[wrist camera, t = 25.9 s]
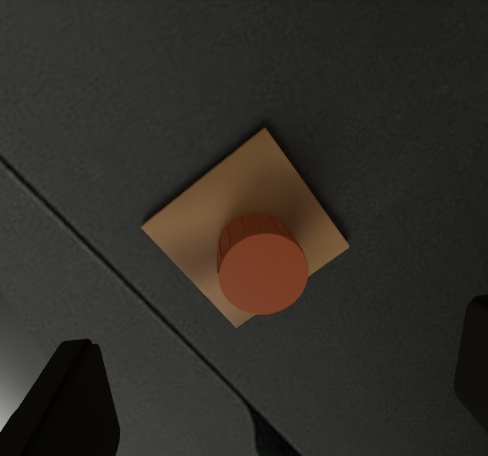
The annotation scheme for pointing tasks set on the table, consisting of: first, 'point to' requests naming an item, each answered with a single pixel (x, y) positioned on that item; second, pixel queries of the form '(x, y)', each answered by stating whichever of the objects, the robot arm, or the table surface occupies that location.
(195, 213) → the coaster
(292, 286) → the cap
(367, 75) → the table surface
